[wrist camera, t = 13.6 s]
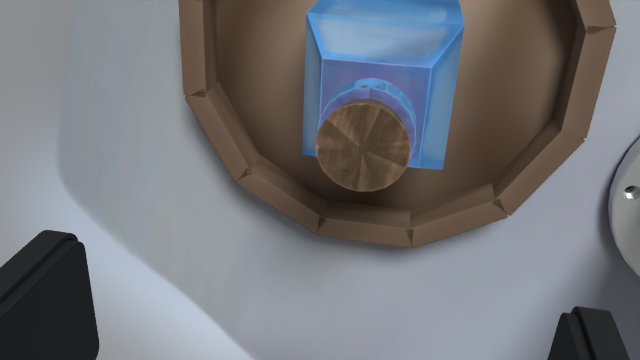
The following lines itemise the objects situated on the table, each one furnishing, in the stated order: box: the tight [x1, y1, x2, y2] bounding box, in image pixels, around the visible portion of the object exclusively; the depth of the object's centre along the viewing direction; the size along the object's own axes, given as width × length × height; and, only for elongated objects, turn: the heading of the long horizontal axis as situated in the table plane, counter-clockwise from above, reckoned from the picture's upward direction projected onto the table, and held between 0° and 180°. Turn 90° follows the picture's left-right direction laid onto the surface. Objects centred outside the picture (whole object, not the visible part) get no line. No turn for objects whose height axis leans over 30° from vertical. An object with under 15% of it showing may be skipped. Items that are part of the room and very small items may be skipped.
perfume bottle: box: [302, 0, 465, 192], centre depth 25 cm, size 6×6×12 cm
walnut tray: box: [179, 0, 616, 248], centre depth 30 cm, size 20×20×3 cm
